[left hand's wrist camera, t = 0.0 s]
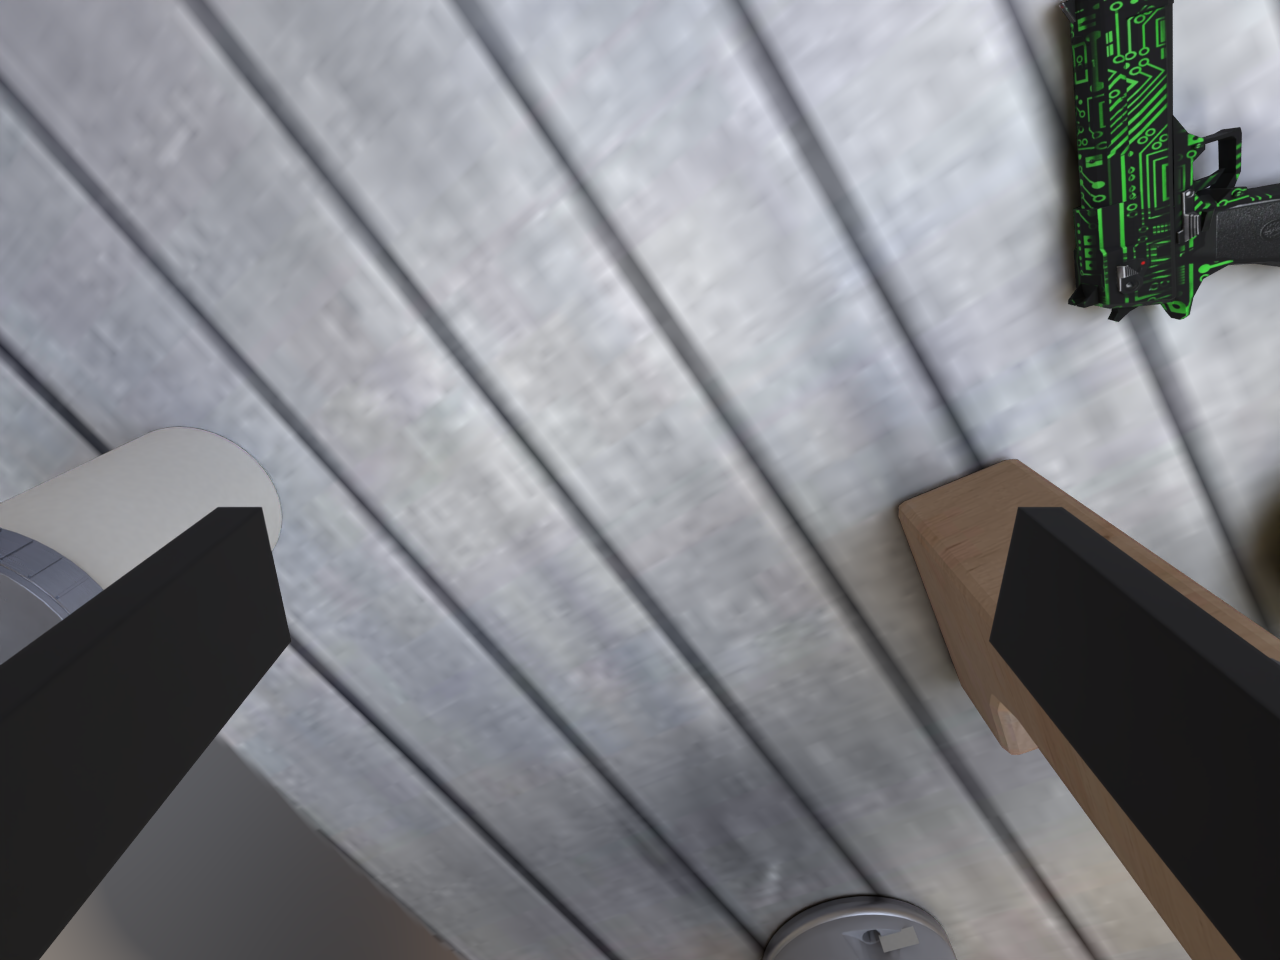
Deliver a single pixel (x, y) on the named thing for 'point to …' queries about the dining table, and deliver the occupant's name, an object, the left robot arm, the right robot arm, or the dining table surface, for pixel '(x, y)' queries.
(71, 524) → the jar
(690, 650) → the dining table surface
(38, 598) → the lid
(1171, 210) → the handgun
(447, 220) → the dining table surface
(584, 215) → the dining table surface
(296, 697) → the dining table surface
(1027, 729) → the decorative block
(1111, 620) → the left robot arm
